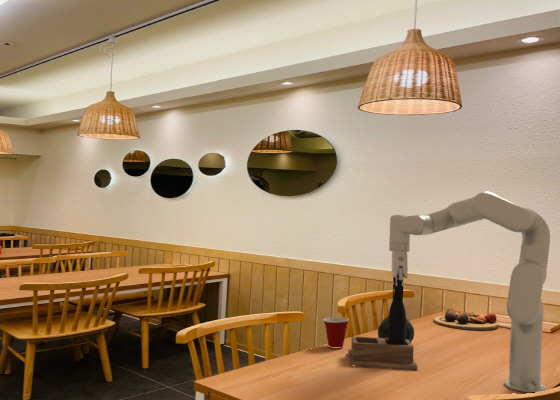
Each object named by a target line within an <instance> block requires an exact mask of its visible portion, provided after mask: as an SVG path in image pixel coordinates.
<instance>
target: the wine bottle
mask: <svg viewBox="0 0 560 400" xmlns="http://www.w3.org/2000/svg"><path fill="white" fill-rule="evenodd" d="M403 275H404V274H403ZM397 278H399V276H397ZM404 279H405V277H404V276H403V282H404ZM397 280H398V279H397ZM392 282H395V286H396V278H395V277H394V276H393V275H392ZM394 292H395V289H394ZM388 316H389V320H388V344H393V345H405V332H406V318H407V311H406V309H405V304H404V296H403V297H395V296H394V293H393V292H392V301H391V304H390V307H389V310H388Z"/></svg>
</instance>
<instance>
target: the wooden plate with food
mask: <svg viewBox="0 0 560 400" xmlns="http://www.w3.org/2000/svg"><path fill="white" fill-rule="evenodd" d="M433 322H434V323H435V324H436V325H438V326H442V327H445V328H451V329H457V330H468V331H489V330H491V331H492V330H495V329H498V327H499V323H498V322H497V315H496V313H494V312H489V313H487V314H486V315H483V314H482V313H472V314H471V313H469V314H467V313H466V311H458V313H456V310H455V309H454V308H448V309H447V311H445V315H438V316H435V317H434V318H433Z"/></svg>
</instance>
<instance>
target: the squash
mask: <svg viewBox="0 0 560 400" xmlns="http://www.w3.org/2000/svg"><path fill="white" fill-rule="evenodd" d="M388 320H389V315H388V316H386V317H385V318H383V320H382V321H381V322H380V324H379V326H378V328H377V338H388ZM414 336H415V329H414V326H413V325H412V323H411V322H410V320H409V319H408V318H407V317H406V332H405V339H409V341H410V342H411V343H412V341H413V340H414V338H415V337H414Z"/></svg>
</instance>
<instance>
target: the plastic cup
mask: <svg viewBox="0 0 560 400" xmlns="http://www.w3.org/2000/svg"><path fill="white" fill-rule="evenodd" d="M322 321H323V322H324V325H325V331H326V332H325V333H326V338H327V345H329V346H331V347H342V348H343V347H344V344H345V343H344V342H345V338H346V334H347V333H346V332H347V329H348V323H349V321H350V319H349V318H347V317H339V316H338V317H326V318H323V319H322ZM329 346H328V347H329Z"/></svg>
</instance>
